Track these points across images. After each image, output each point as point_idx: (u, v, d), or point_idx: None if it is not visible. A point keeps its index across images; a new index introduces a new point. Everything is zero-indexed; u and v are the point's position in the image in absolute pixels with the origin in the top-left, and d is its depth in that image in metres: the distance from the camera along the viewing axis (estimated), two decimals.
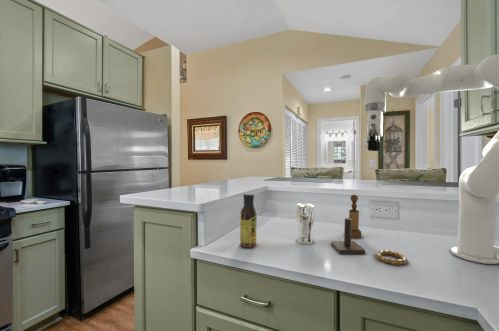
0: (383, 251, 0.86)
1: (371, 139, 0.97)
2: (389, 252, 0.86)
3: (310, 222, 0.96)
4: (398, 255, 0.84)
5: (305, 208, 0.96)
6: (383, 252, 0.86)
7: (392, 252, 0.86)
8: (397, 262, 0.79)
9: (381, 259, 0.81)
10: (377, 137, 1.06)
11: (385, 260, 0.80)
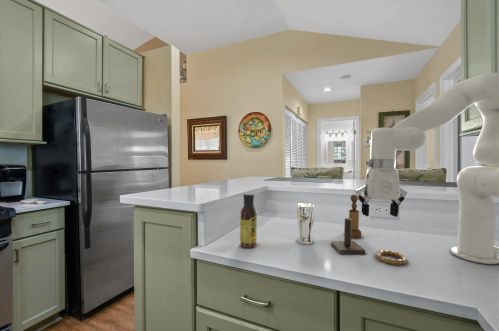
0: (383, 251, 0.86)
1: (361, 202, 0.83)
2: (389, 252, 0.86)
3: (310, 222, 0.96)
4: (398, 255, 0.84)
5: (305, 208, 0.96)
6: (383, 252, 0.86)
7: (392, 252, 0.86)
8: (397, 262, 0.79)
9: (381, 259, 0.81)
10: (398, 199, 0.82)
11: (385, 260, 0.80)
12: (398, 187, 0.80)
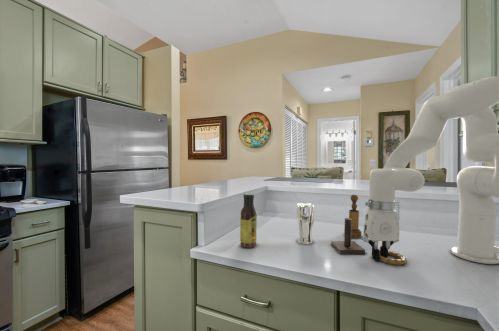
0: None
1: None
2: (388, 252, 0.86)
3: (310, 222, 0.96)
4: (397, 255, 0.84)
5: (305, 208, 0.96)
6: None
7: (391, 252, 0.86)
8: (396, 262, 0.79)
9: (380, 259, 0.81)
10: None
11: (384, 260, 0.80)
12: (398, 228, 0.80)
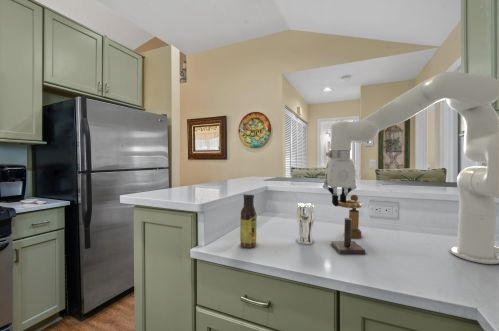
0: None
1: (332, 194, 0.91)
2: (348, 201, 0.94)
3: (310, 222, 0.96)
4: (356, 202, 0.92)
5: (305, 208, 0.96)
6: None
7: (351, 200, 0.93)
8: (352, 205, 0.86)
9: (339, 204, 0.89)
10: None
11: (342, 204, 0.88)
12: (354, 176, 0.88)
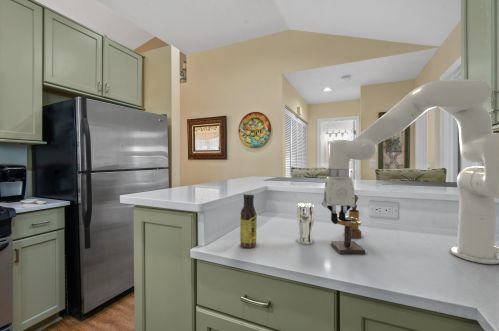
0: None
1: None
2: None
3: (310, 222, 0.96)
4: (355, 219, 0.92)
5: (305, 208, 0.96)
6: None
7: (350, 217, 0.94)
8: (351, 224, 0.87)
9: (338, 222, 0.89)
10: None
11: (341, 222, 0.88)
12: (353, 194, 0.88)
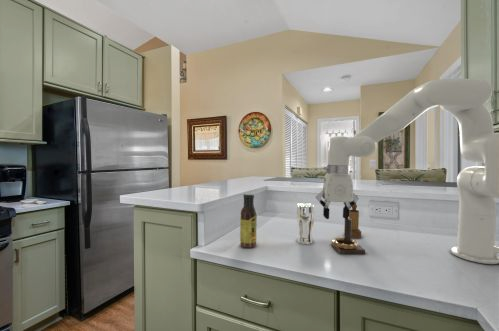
0: (340, 238, 0.95)
1: (323, 206, 0.91)
2: None
3: (310, 222, 0.96)
4: (352, 241, 0.93)
5: (305, 208, 0.96)
6: (339, 239, 0.95)
7: None
8: (348, 247, 0.87)
9: (335, 244, 0.90)
10: None
11: (338, 245, 0.89)
12: (351, 190, 0.88)
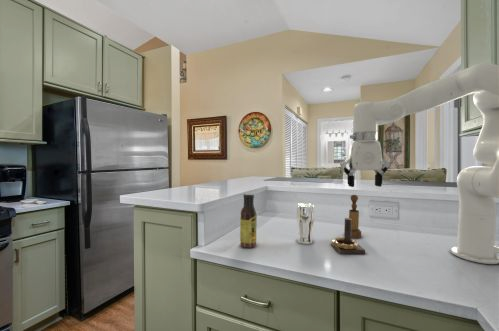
0: (340, 238, 0.95)
1: (347, 174, 0.87)
2: None
3: (310, 222, 0.96)
4: (352, 241, 0.93)
5: (305, 208, 0.96)
6: (339, 239, 0.95)
7: None
8: (348, 247, 0.87)
9: (335, 244, 0.90)
10: (382, 169, 0.87)
11: (338, 245, 0.89)
12: (380, 158, 0.84)
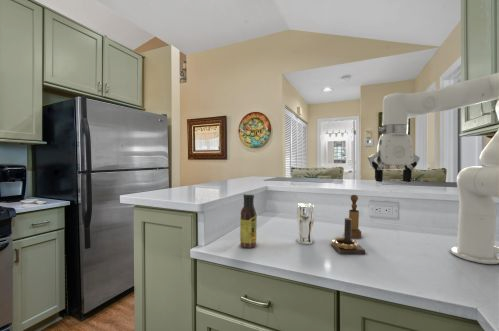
0: (340, 238, 0.95)
1: (374, 168, 0.84)
2: None
3: (310, 222, 0.96)
4: (352, 241, 0.93)
5: (305, 208, 0.96)
6: (339, 239, 0.95)
7: None
8: (348, 247, 0.87)
9: (335, 244, 0.90)
10: (411, 164, 0.83)
11: (338, 245, 0.89)
12: (411, 152, 0.81)
